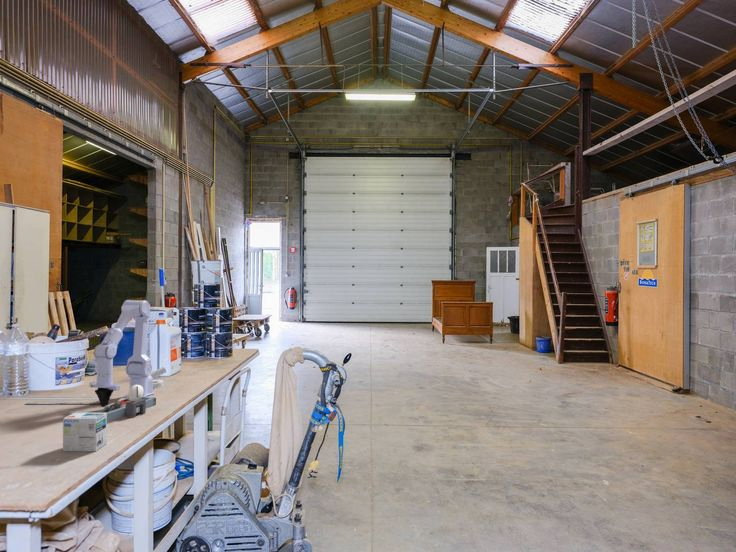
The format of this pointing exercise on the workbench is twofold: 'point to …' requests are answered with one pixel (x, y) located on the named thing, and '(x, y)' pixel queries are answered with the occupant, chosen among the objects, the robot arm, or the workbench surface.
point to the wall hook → (155, 374)
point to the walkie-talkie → (115, 405)
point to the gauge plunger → (136, 408)
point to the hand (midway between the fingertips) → (104, 406)
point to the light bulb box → (84, 431)
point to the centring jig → (131, 404)
